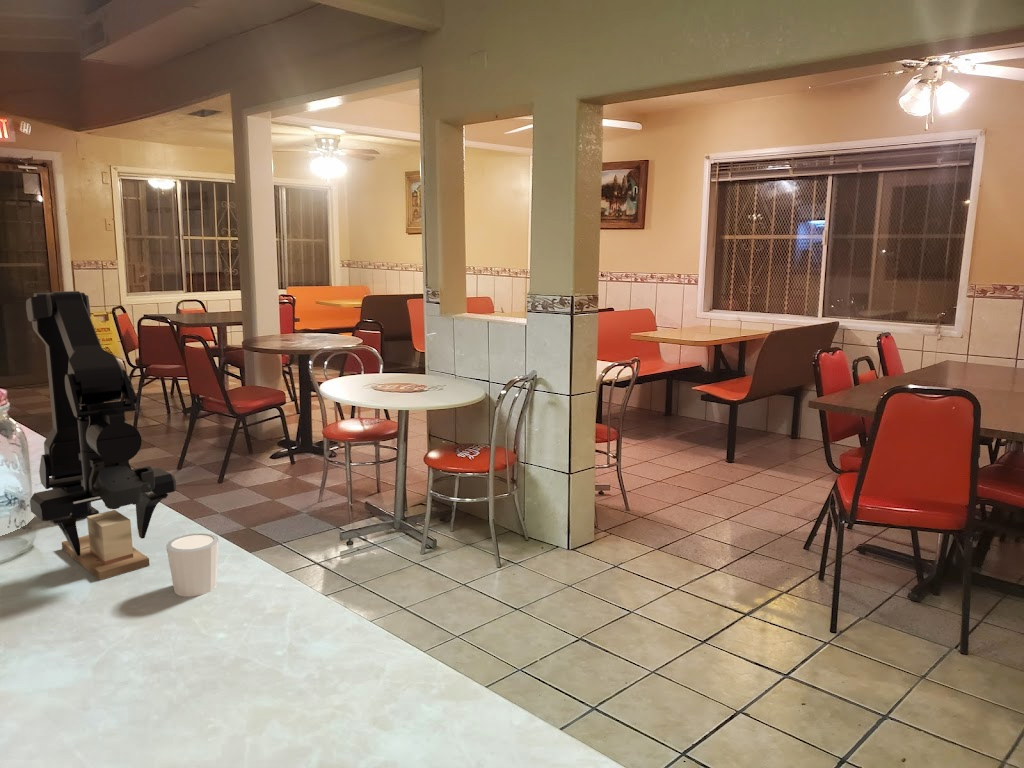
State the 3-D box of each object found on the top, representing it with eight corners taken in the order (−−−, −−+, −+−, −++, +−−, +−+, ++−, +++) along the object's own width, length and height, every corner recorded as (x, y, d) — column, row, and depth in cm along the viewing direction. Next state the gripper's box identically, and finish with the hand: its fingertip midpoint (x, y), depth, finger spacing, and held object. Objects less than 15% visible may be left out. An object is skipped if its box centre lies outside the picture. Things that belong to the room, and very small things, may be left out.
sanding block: (90, 553, 115) (86, 516, 114) (117, 546, 118) (114, 509, 117) (105, 565, 111) (101, 526, 110) (133, 557, 114) (130, 519, 113)
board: (62, 548, 119) (61, 541, 119) (109, 536, 124) (108, 529, 124) (100, 580, 109) (99, 572, 109) (149, 565, 114) (149, 558, 114)
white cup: (209, 599, 104) (206, 551, 102) (160, 598, 104) (156, 550, 103) (228, 577, 110) (226, 532, 109) (182, 576, 111) (179, 531, 109)
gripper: (50, 472, 99) (61, 582, 102) (189, 446, 113) (195, 543, 116) (23, 455, 106) (34, 558, 109) (157, 432, 120) (163, 524, 123)
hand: (110, 546), depth 114 cm, fingers open, 9 cm apart
